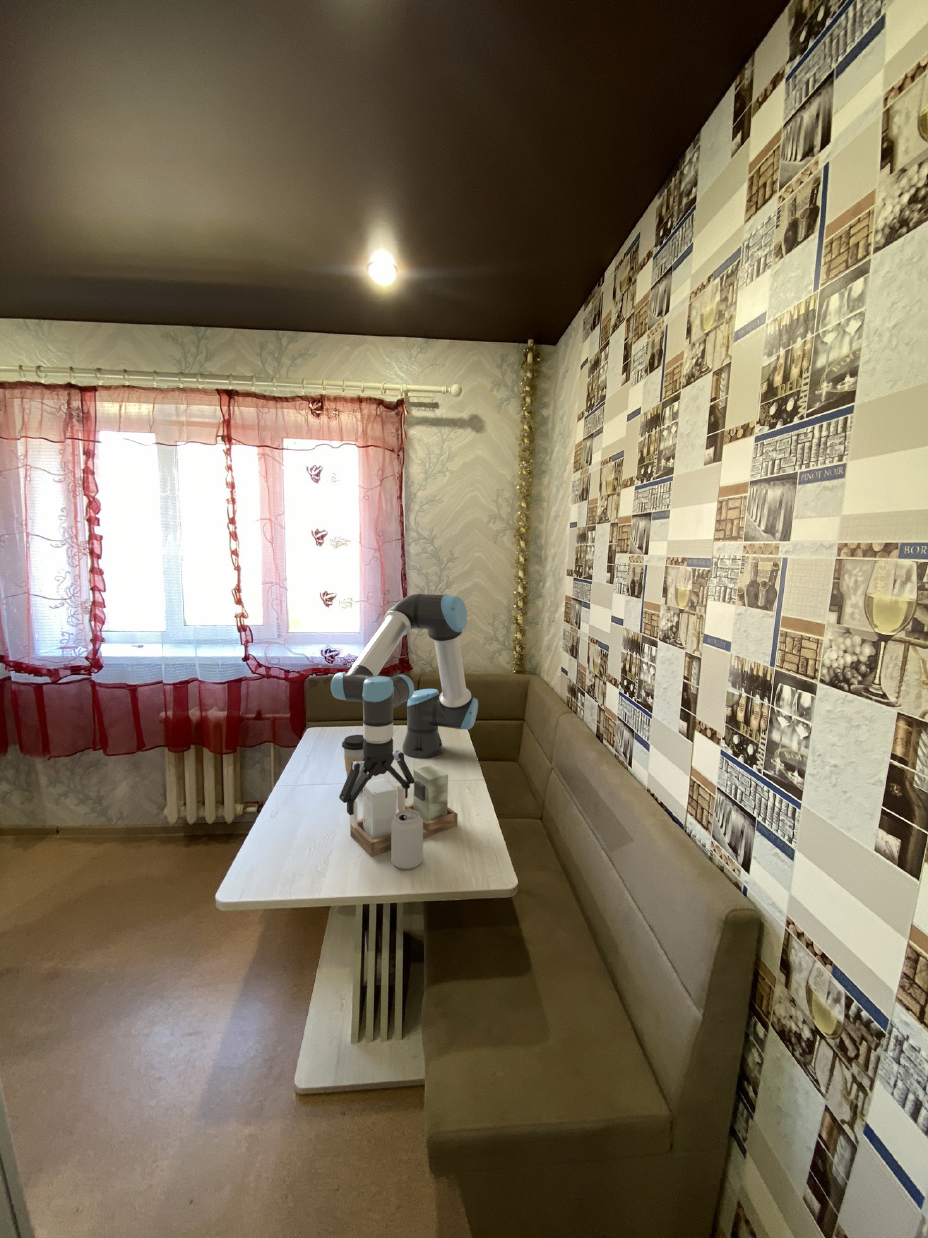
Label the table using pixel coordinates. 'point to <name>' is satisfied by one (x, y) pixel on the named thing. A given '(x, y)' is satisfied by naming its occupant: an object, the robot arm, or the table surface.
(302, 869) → the table surface
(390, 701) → the robot arm
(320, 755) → the table surface
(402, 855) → the can
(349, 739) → the coffee cup
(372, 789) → the small box
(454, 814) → the brown divided tray
